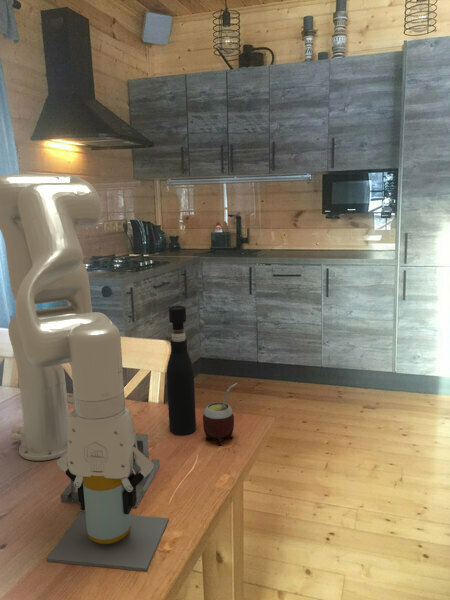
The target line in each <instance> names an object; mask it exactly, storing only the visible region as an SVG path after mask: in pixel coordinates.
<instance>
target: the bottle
mask: <svg viewBox="0 0 450 600" xmlns="http://www.w3.org/2000/svg"><path fill="white" fill-rule="evenodd" d="M89 463H90V470H93V471H90V475H91V476H90V477H83V490H84V502H85V513H86V525H87V533H88V536H89V538H90V539H91V540H93V541H94V542H96V543H98V544H112V543H116V542H118V541H120V540H122V539H123V538H124V537H125V536H126V535H127V534H128V533H129V531H130V529H131V515H132V514H131V513H132V512H131V511H132V510H131V511H130V513H129V514H125V513H124V509H123V496H122V493H123V491H124V490H125V487H124V485H123V483H122V481H121V479H109V478H105V477H104V476H105V472H102V471H104V466H105V457H90V456H88V464H89Z"/></svg>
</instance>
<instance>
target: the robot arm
mask: <svg viewBox="0 0 450 600" xmlns="http://www.w3.org/2000/svg"><path fill="white" fill-rule="evenodd" d="M102 217H103V206H102V201H101V199H100V196H99V193H98V192H97V190H96V188H95V187H94V186H93V185H92V184H91V183H90V182H88V181H87V180H85V179H83V178H82V177H81V178H80V177H79V176H77V175H74V174H70V173H69V174H68V173H67V174H66V173H7V174H2V175H0V232H1V235H2V237H3V241H4V245H5V253H6V261H7V262H6V263H7V268H8V270H7V271H8V277H9V285H10V289H11V293H12V296H13V299H14V300H15V316H14V317H12V319H10V321H9V323H8V327H7V329H8V330H7V331H8V337H9V341H10V345H11V348H12V351H13V354H14V355H13V356H14V360H15V363H16V370H17V377H18V378H17V379H18V384H19V392H20V402H21V409H22V410H21V411H22V419H23V421H22V422H23V427H22V426H13V427H12V428H11V431H10V432H11V434H10V440H20V442H21V443H20V444H19V446H18V452H19V456H21V457H22V458H23V459H26V460H28V461H35V462H36V461H40V462H41V461H49V460H54V459H57V460H56V464H57V466H58V467H59V468H60V469H61V470H62V471H63V472H65V475H66V476H67V478H69V480H70V479H71V480H72V481H73V482H74V486H75V487H76V488H77V489H78V499H79V502H80V504H79V505H80V511H85V502H84V490H83V477H90V476H91V475H90V471H93V470H90V463H89V464H88V456H90V457H105V466H104V471H102V472H105V476H104V477H105V478H109V479H121V481H122V483H123V485H124V487H125V490H124V491H123V493H122V496H123V509H124V513H125V514H129V513H130V511H132V509H133V508H132V507H134V506H135V505H136V502H137V496H136V486H137V485H138V484H139V483H140V482H141V481H142V480H143V479H144V478H145V477H146V476H147V475H148V474H149V473H150V472H151V470H152V469H153V467H154V464H153V463H152V462H151V460H150V458H149V459H148V458H147V457H145V456H144V455H143V454H142V453H141V452H140V451H139V450H138V449H137V440H136V434H135V433H136V429H135V424H134V421H133V417H132V414H131V410H130V409H129V408H130V407H126V398H125V386H124V385H125V382H124V371H123V368H124V367H123V356H122V355H123V354H122V341H121V340H122V336H121V332H120V330H119V328H118V327H117V326H116V325H115V324H114V323H113V321H112V320H111V319H109V317H108V316H107V315H106V314H105V313H102V312H99V311H98V312H97V311H95V312H94V311H93V307H92V306H93V305H92V299H91V298H92V296H91V295H92V294H91V288H90V287H91V286H90V279H89V273H88V271H87V270H88V269H87V267H86V266H85V263H84V262H83V261H84V252H83V249H82V247H81V243H80V241H79V236H78V233H77V230H76V229H87V228H89V229H90V228H94V227H96V226H98V225H99V224H100V222H101V220H102ZM62 301H65V302H67V305H65V306H58V307H47V308H41V309H36V305H38V304H47V303H57V302H62ZM68 363H69V364H70V371H71V380H72V389H73V390H72V392H73V393H72V394H68V393H67V382H66V374H65V370H64V367H63V365H64V364H68ZM69 404H71V405H72V406H73V411H71V412H70V415H69ZM135 464H137V465H139V466H140V467H141V470H139V471H138V472H135V471H134V469H133V465H135Z"/></svg>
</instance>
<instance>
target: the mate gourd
mask: <svg viewBox="0 0 450 600" xmlns="http://www.w3.org/2000/svg"><path fill="white" fill-rule="evenodd" d="M238 384H239V382H235V383H234V384H232V385H230V386H229V387H228V388H227V389H226V391H225V395H224V398H223V402H220V401H219V402H211V403H209V404H208V405H207V406H206V407H205V408H204V411H203V414H202V420H203V421H202V424H203V431H204V434H205V437H204V438H205V442H211V441H214V442H215V441H217V446H218V447H221V446H222V441H227V440H228V441H229V440H233V438H234V437H233V432H234V427H235V416H234V411H233V409H232V407H231V406H230V405H229V404H227V403H226V402H227V399H228V396H229V395H230V393H231V390H232V388H235V386H237V385H238Z"/></svg>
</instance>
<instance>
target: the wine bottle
mask: <svg viewBox="0 0 450 600" xmlns="http://www.w3.org/2000/svg"><path fill="white" fill-rule="evenodd" d="M168 317H169V318H168V319H169V321H168V322H169V323H171V324H172V332H171V335H170V336H171V339H170V350H171V351H170V354H169V358H168V362H167V367H166V388H167V405H168V406H167V407H168V424H169V425H168V426H169V427H168V428H169V433H170V434H172V435H175V436H182V437H183V436H188V435H191V434H193V433H194V432H196V430H197V418H196V416H197V415H196V394H195V393H196V391H195V373H194V366H193V362H192V359H191V357H190V354H189V351H188V340H187V339H186V332H185V327H184V326H185V325H184V323H186V322H187V307H186V306H183V305H173V306H170V307H169V308H168Z"/></svg>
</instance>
